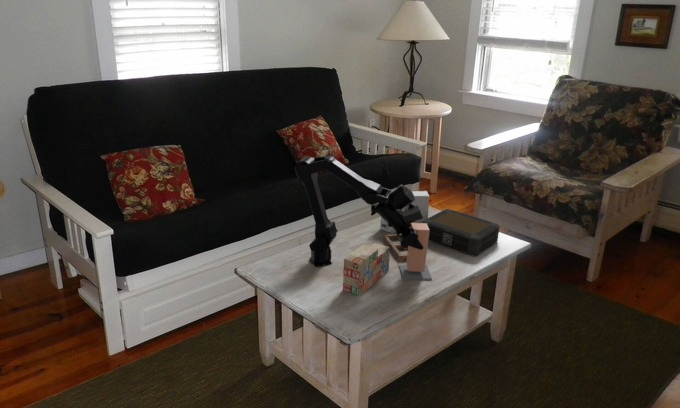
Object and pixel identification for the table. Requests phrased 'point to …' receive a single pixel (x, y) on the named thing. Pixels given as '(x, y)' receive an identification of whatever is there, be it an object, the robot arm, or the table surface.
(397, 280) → the table surface
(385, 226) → the light bulb box
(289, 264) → the table surface
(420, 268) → the terracotta block
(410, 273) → the slate mat
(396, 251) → the walnut rack
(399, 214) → the robot arm
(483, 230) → the cash box
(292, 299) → the table surface
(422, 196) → the skincare box
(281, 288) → the table surface
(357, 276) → the stack of blocks
